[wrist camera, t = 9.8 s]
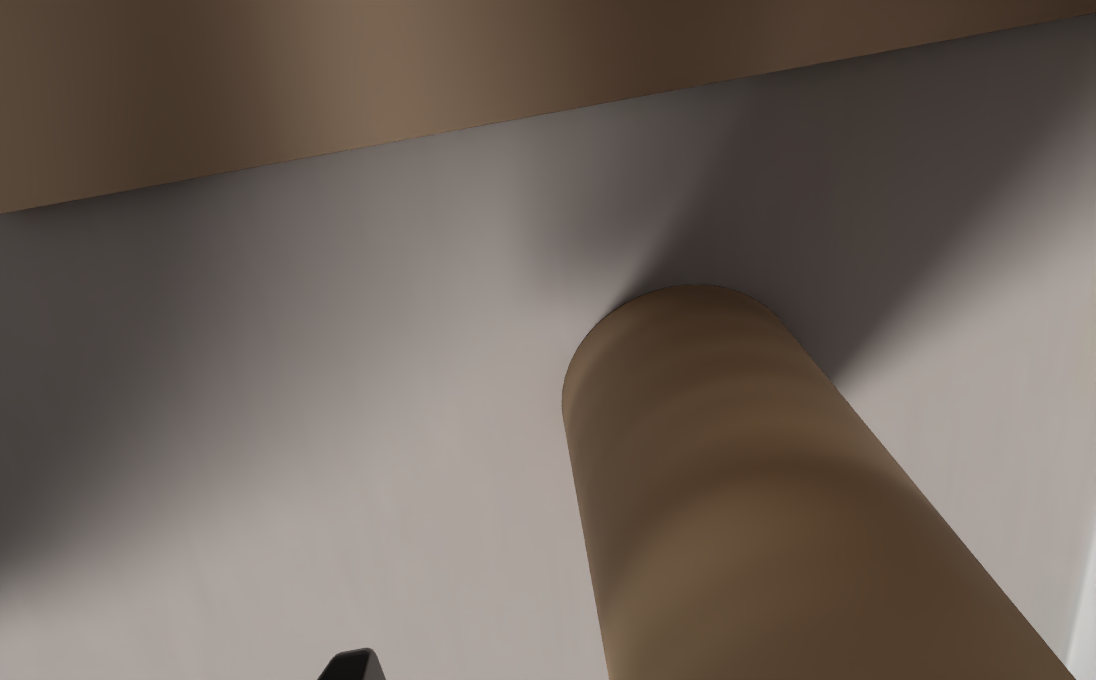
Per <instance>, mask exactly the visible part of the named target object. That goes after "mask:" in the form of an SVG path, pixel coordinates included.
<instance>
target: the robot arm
mask: <svg viewBox="0 0 1096 680" xmlns="http://www.w3.org/2000/svg"><path fill="white" fill-rule="evenodd" d="M317 680H386V678H385V676H384V673H383V671H382V668H381V665H380V663H379V660H378V658H377V655H376V653H375V652H374V651H373V650H372V649H371V648H362V649H356V650H351V651H345V652H341V653H338V654H337V655H335V656H334V657H333V658H332V659H331V661H330V662H329V663H328V665H327V666H326V668H325V669H324V671H323V672H322V674H321V675H320V676H319V678H318V679H317Z"/></svg>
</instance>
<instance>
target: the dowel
mask: <svg viewBox="0 0 1096 680" xmlns="http://www.w3.org/2000/svg"><path fill="white" fill-rule="evenodd" d="M562 413H563V421H564V426H565V432H566V438H567V443H568V449H569V455H570V460H571V466H572V472H573V477H574V483H575V488H576V494H577V500H578V505H579V511H580V517H581V522H582V528H583V534H584V539H585V545H586V551H587V556H588V562H589V568H590V573H591V579H592V585H593V590H594V596H595V602H596V607H597V613H598V619H599V624H600V630H601V635H602V641H603V647H604V652H605V658H606V664H607V669H608V675H609V680H1076V679H1075V678H1074V677H1073V675H1072V674H1071V673H1070V672H1069V671H1068V669H1067V668H1066V667H1065V666H1064V664H1063V663H1062V662H1061V661H1060V660H1059V658H1058V657H1057V656H1056V655H1055V654H1054V652H1053V651H1052V650H1051V649H1050V647H1049V646H1048V645H1047V644H1046V643H1045V641H1044V640H1043V639H1042V638H1041V637H1040V635H1039V634H1038V633H1037V632H1036V630H1035V629H1034V628H1033V627H1032V626H1031V624H1030V623H1029V622H1028V621H1027V620H1026V618H1025V617H1024V616H1023V615H1022V613H1021V612H1020V611H1019V610H1018V609H1017V607H1016V606H1015V605H1014V604H1013V603H1012V601H1011V600H1010V599H1009V598H1008V596H1007V595H1006V594H1005V593H1004V592H1003V590H1002V589H1001V588H1000V587H999V586H998V584H997V583H996V582H995V581H994V579H993V578H992V577H991V576H990V575H989V573H988V572H987V571H986V570H985V569H984V567H983V566H982V565H981V564H980V562H979V561H978V560H977V559H976V558H975V556H974V555H973V554H972V553H971V551H970V550H969V549H968V548H967V547H966V545H965V544H964V543H963V542H962V541H961V539H960V538H959V537H958V536H957V534H956V533H955V532H954V531H953V530H952V528H951V527H950V526H949V525H948V524H947V522H946V521H945V520H944V519H943V517H942V516H941V515H940V514H939V513H938V511H937V510H936V509H935V508H934V507H933V505H932V504H931V503H930V502H929V500H928V499H927V498H926V497H925V496H924V494H923V493H922V492H921V491H920V490H919V488H918V487H917V486H916V485H915V483H914V482H913V481H912V480H911V479H910V477H909V476H908V475H907V474H906V473H905V471H904V470H903V469H902V468H901V466H900V465H899V464H898V463H897V462H896V460H895V459H894V458H893V457H892V456H891V454H890V453H889V452H888V451H887V449H886V448H885V447H884V446H883V445H882V443H881V442H880V441H879V440H878V439H877V437H876V436H875V435H874V434H873V432H872V431H871V430H870V429H869V428H868V426H867V425H866V424H865V423H864V421H863V420H862V419H861V418H860V417H859V415H858V414H857V413H856V412H855V411H854V409H853V408H852V407H851V406H850V404H849V403H848V402H847V401H846V400H845V398H844V397H843V396H842V395H841V394H840V392H839V391H838V390H837V389H836V387H835V386H834V385H833V384H832V383H831V381H830V380H829V379H828V378H827V377H826V375H825V374H824V373H823V372H822V370H821V369H820V368H819V367H818V366H817V364H816V363H815V362H814V361H813V360H812V358H811V357H810V356H809V355H808V353H807V352H806V351H805V350H804V349H803V347H802V346H801V345H800V344H799V343H798V341H797V340H796V339H795V338H794V336H793V335H792V334H791V333H790V332H789V330H788V329H787V328H786V327H785V326H784V324H783V323H782V322H781V321H780V320H779V319H778V318H777V316H776V315H775V314H774V313H773V312H771V311H770V310H769V309H768V308H767V307H765V306H764V305H763V304H761V303H760V302H758V301H756V300H755V299H753V298H751V297H749V296H747V295H745V294H742V293H740V292H737V291H734V290H731V289H727V288H723V287H718V286H710V285H682V286H674V287H668V288H664V289H660V290H656V291H653V292H650V293H647V294H645V295H642V296H639V297H637V298H635V299H633V300H631V301H629V302H627V303H626V304H624V305H622V306H620V307H619V308H618V309H616V310H615V311H613V312H612V313H610V314H609V315H608V316H606V317H605V318H604V319H603V320H602V321H601V322H599V323H598V324H597V325H596V326H595V327H594V328H593V330H592V331H591V332H590V333H589V334H588V335H587V336H586V337H585V339H584V340H583V342H582V343H581V345H580V346H579V347H578V349H577V350H576V352H575V354H574V356H573V358H572V360H571V362H570V364H569V367H568V370H567V373H566V376H565V380H564V385H563V390H562Z"/></svg>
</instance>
